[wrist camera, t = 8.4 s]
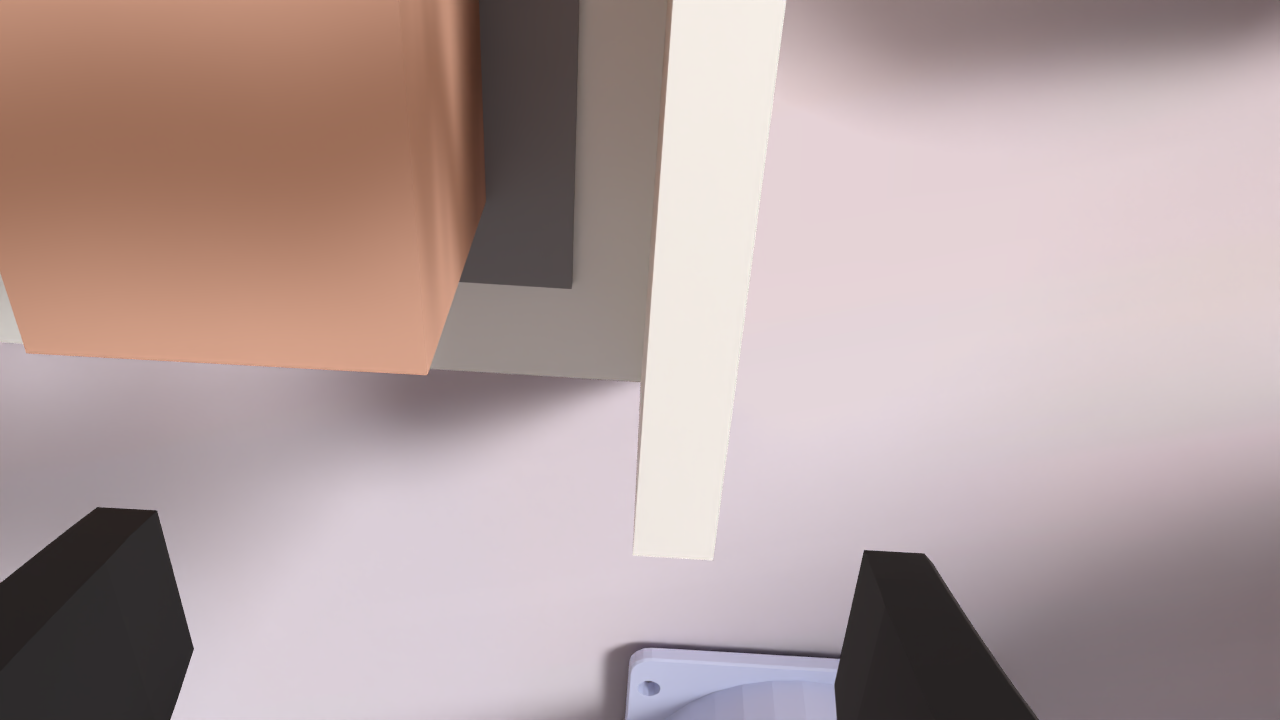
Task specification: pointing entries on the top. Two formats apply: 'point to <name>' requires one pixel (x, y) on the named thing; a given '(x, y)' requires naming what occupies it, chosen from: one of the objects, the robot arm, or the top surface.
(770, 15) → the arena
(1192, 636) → the top surface
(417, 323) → the cube
